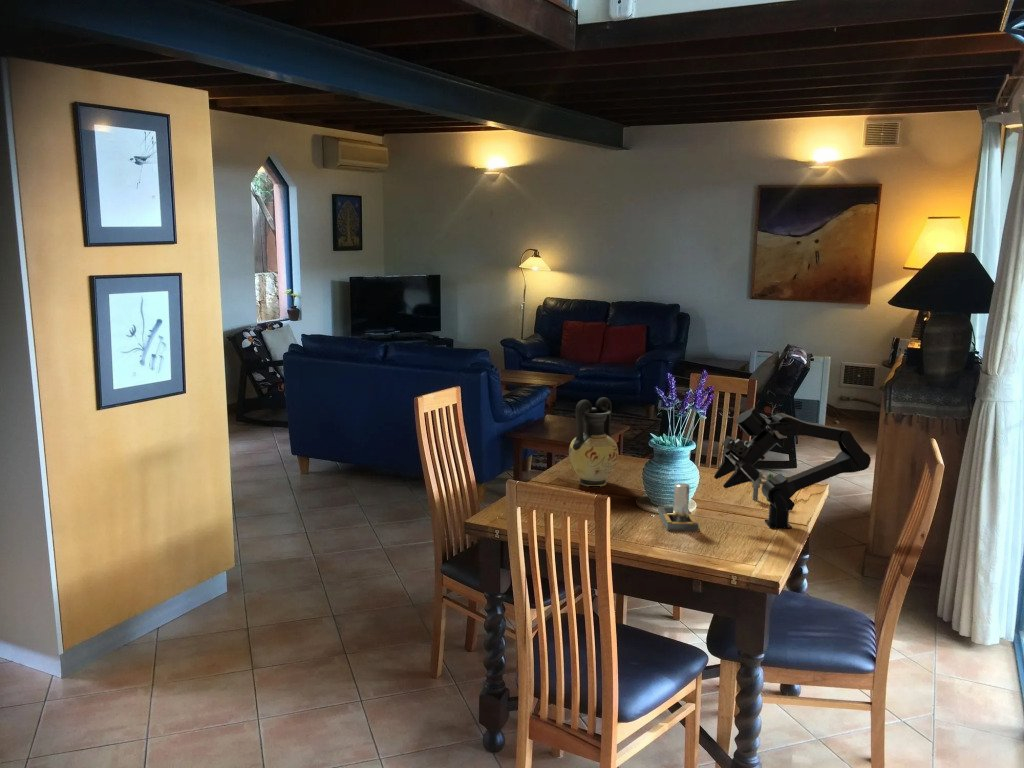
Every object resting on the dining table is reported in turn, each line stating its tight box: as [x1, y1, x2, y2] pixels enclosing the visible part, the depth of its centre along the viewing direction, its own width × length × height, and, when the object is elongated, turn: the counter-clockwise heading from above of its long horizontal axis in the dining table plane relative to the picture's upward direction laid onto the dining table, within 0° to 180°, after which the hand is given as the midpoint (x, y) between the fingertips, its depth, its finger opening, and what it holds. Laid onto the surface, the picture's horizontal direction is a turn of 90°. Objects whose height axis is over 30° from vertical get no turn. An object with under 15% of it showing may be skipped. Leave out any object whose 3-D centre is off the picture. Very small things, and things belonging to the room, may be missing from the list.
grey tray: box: [657, 505, 699, 532], centre depth 254 cm, size 16×9×2 cm, turn 0°
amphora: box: [568, 396, 619, 487], centre depth 289 cm, size 18×17×30 cm
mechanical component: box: [750, 469, 774, 501], centre depth 275 cm, size 3×10×10 cm, turn 53°
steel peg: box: [672, 482, 691, 522], centre depth 250 cm, size 4×4×12 cm
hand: (719, 482), depth 249 cm, fingers open, 9 cm apart
